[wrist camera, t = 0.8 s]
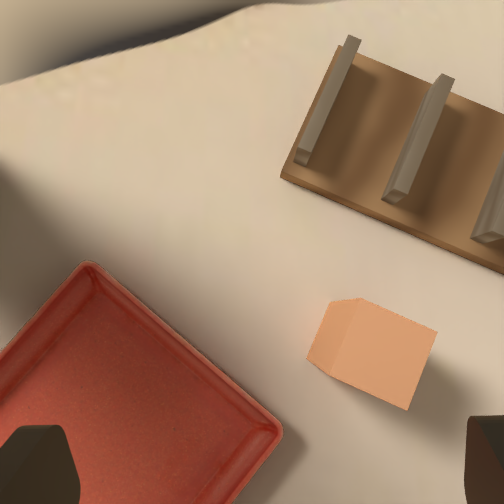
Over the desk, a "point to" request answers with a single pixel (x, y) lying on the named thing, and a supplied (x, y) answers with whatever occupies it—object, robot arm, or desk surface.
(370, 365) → the terracotta block
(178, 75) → the desk surface
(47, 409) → the plant saucer
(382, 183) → the walnut rack
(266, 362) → the desk surface
